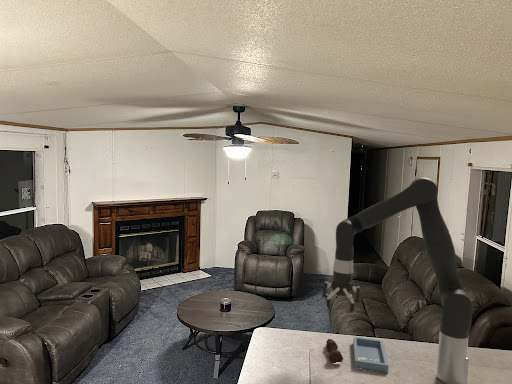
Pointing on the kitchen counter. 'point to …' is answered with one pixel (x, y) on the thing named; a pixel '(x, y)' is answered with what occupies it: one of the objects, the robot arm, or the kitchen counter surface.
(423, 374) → the kitchen counter surface
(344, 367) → the kitchen counter surface
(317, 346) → the kitchen counter surface
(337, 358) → the bolt
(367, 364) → the parts tray
